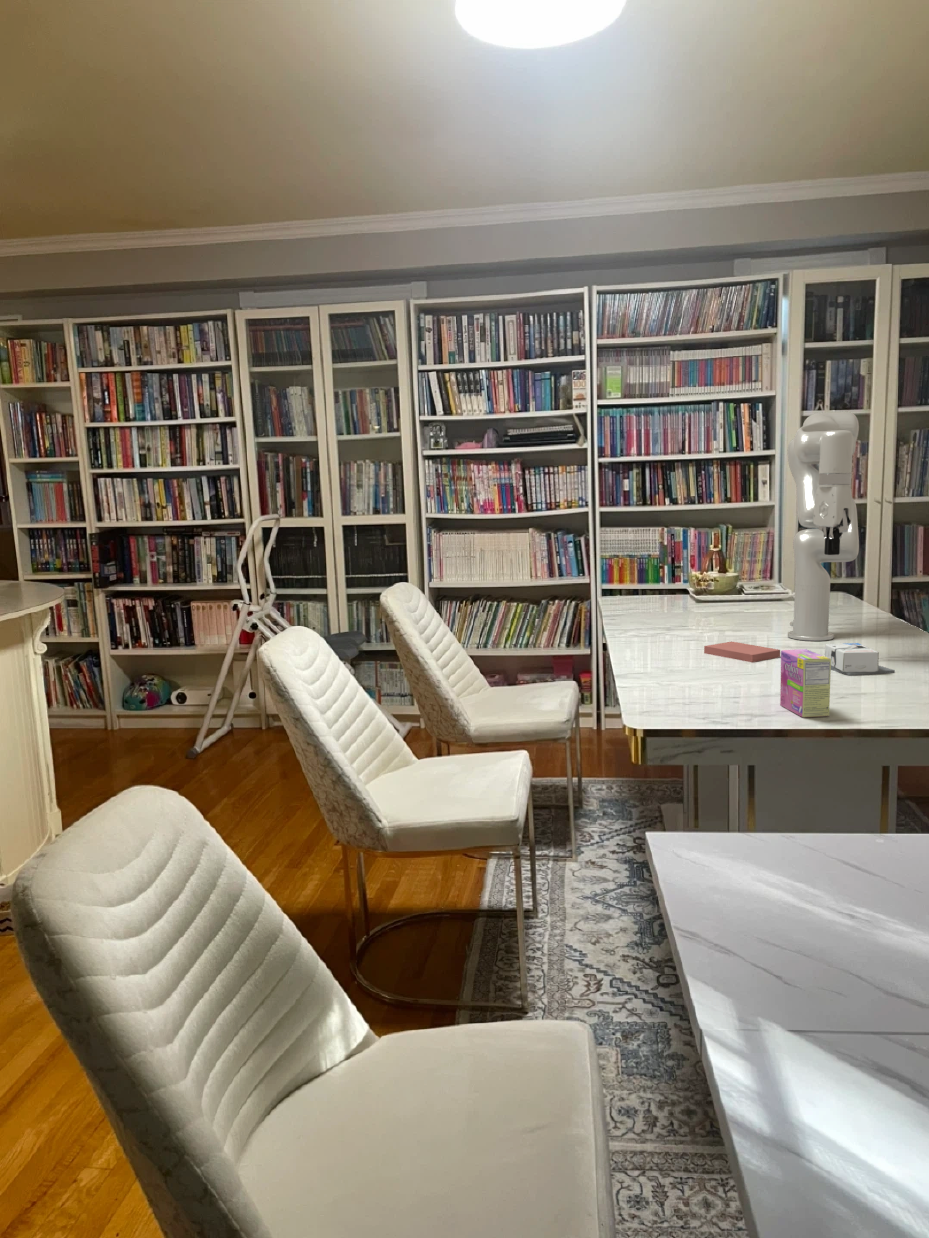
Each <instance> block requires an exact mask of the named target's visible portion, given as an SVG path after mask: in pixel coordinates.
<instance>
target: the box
mask: <svg viewBox="0 0 929 1238" xmlns="http://www.w3.org/2000/svg"><path fill="white" fill-rule="evenodd" d="M831 673H832V670H831V658H828V657H825V655H824V654H819V653H817V652H814V651H811V650H809V649H807V648H800V649H782V650H780V692H779V693H780V694H779V695H780V699H779V702H780V703H779V704H780V706H781V707H782V708H784V709H787V711H790V712H792V713H794V714H796V715H798V716H800V717H801V718H821V717H822V718H823V717H830V701H831V699H830V698H831Z"/></svg>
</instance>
